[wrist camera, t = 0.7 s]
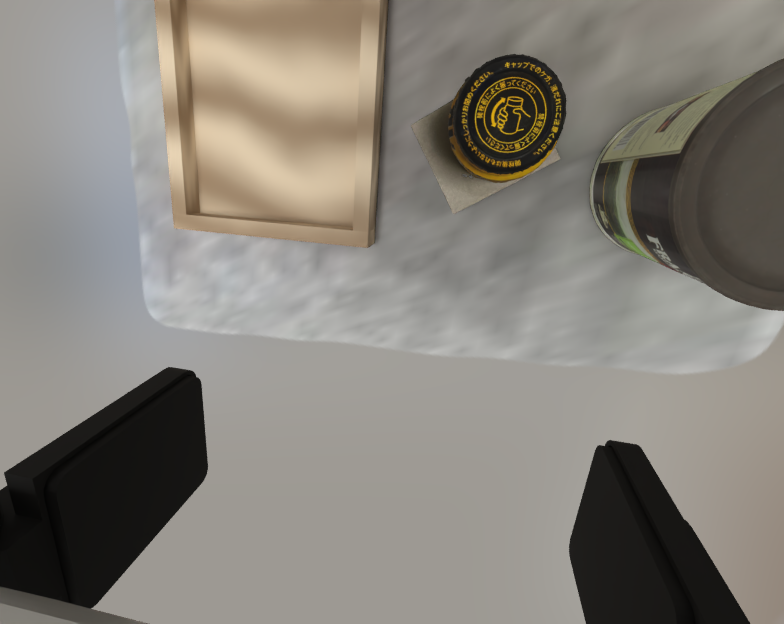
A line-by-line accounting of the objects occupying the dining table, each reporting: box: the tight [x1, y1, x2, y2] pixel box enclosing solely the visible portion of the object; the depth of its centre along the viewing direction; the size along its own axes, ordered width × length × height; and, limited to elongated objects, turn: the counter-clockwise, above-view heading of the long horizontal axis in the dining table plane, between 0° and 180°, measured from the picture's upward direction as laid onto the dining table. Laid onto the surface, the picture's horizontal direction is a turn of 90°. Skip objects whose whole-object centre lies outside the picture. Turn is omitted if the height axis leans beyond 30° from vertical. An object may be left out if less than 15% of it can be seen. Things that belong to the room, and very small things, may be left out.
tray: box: [154, 0, 388, 248], centre depth 32 cm, size 18×16×2 cm
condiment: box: [411, 54, 566, 214], centre depth 26 cm, size 7×8×12 cm
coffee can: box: [590, 59, 784, 311], centre depth 23 cm, size 10×10×14 cm
